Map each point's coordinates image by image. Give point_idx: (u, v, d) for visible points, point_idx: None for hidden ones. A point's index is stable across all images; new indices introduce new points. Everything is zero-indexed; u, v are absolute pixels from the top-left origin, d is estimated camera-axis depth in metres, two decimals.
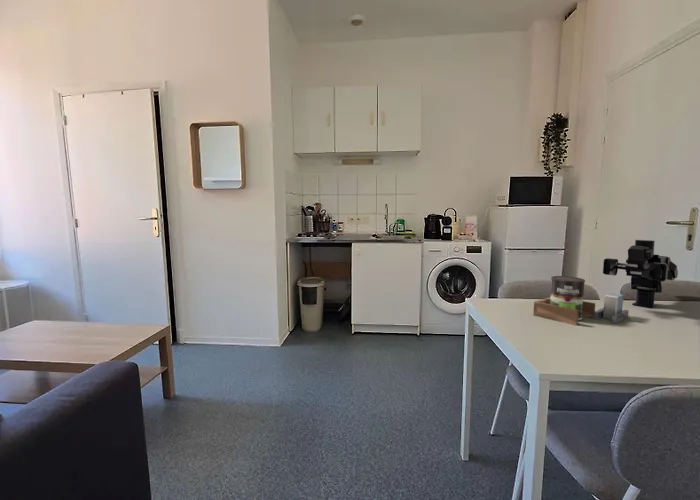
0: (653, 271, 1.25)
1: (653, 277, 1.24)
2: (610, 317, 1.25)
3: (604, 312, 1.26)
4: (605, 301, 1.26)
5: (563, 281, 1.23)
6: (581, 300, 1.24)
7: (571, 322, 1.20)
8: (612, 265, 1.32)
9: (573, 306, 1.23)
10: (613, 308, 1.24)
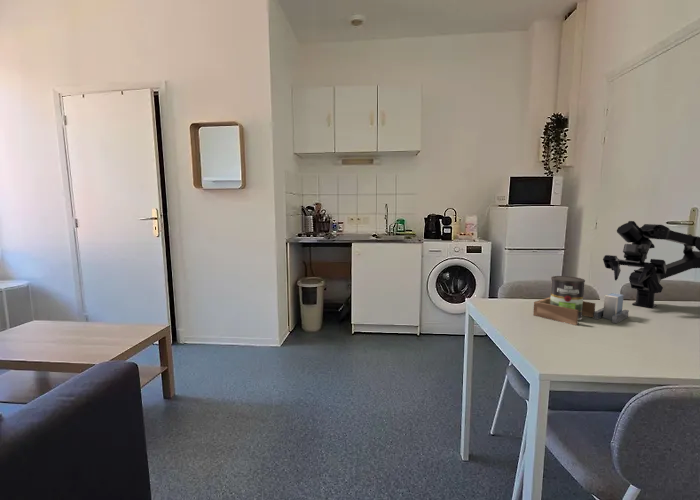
0: None
1: (650, 274, 1.32)
2: (610, 317, 1.25)
3: (604, 312, 1.26)
4: (605, 301, 1.26)
5: (563, 281, 1.23)
6: (581, 300, 1.24)
7: (571, 322, 1.20)
8: (615, 270, 1.37)
9: (573, 306, 1.23)
10: (613, 308, 1.24)
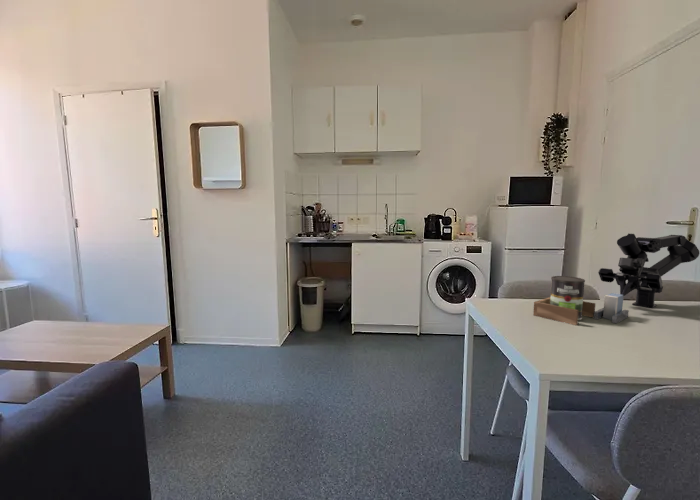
0: None
1: (634, 287, 1.33)
2: (610, 317, 1.25)
3: (604, 312, 1.26)
4: (605, 301, 1.26)
5: (563, 281, 1.23)
6: (581, 300, 1.24)
7: (571, 322, 1.20)
8: (621, 285, 1.33)
9: (573, 306, 1.23)
10: (613, 308, 1.24)
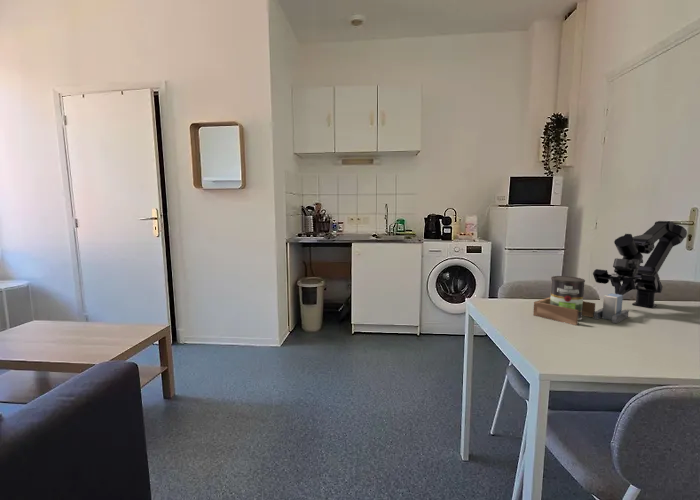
0: None
1: (629, 289, 1.30)
2: (609, 317, 1.25)
3: (603, 312, 1.26)
4: (604, 301, 1.25)
5: (563, 281, 1.23)
6: (581, 300, 1.24)
7: (571, 322, 1.20)
8: (616, 287, 1.30)
9: (573, 306, 1.23)
10: (612, 308, 1.24)
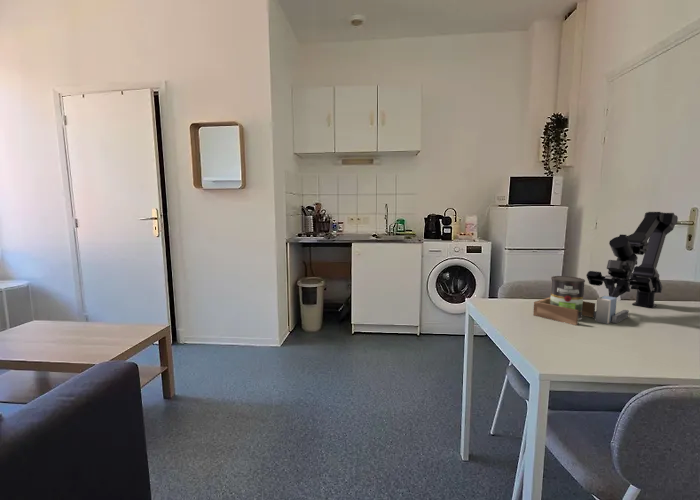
0: None
1: (623, 291, 1.26)
2: (603, 321, 1.21)
3: (596, 315, 1.22)
4: (598, 304, 1.22)
5: (563, 281, 1.23)
6: (581, 300, 1.24)
7: (571, 322, 1.20)
8: (610, 289, 1.26)
9: (573, 306, 1.23)
10: (606, 311, 1.20)
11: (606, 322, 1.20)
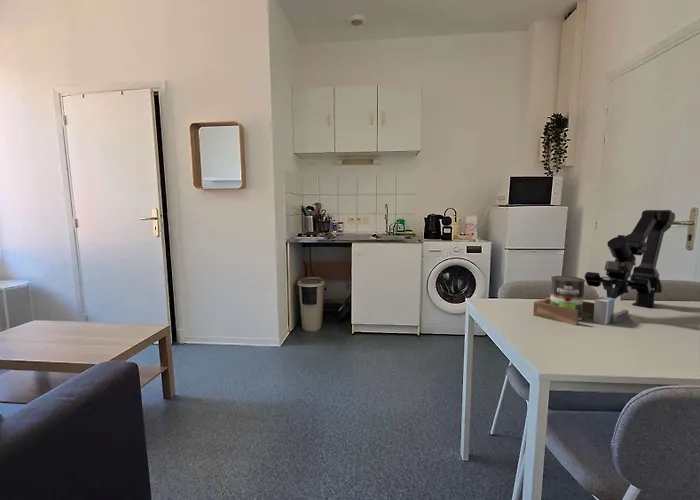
0: None
1: (621, 292, 1.25)
2: (600, 322, 1.20)
3: (594, 316, 1.21)
4: (595, 305, 1.21)
5: (563, 281, 1.23)
6: (581, 300, 1.24)
7: (571, 322, 1.20)
8: (608, 290, 1.25)
9: (573, 306, 1.23)
10: (604, 312, 1.19)
11: (604, 323, 1.19)
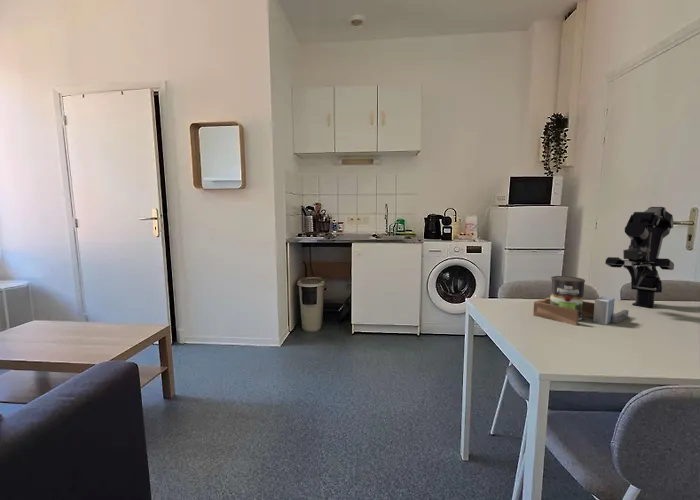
0: None
1: (646, 272, 1.28)
2: (600, 322, 1.20)
3: (594, 316, 1.21)
4: (595, 305, 1.21)
5: (563, 281, 1.23)
6: (581, 300, 1.24)
7: (571, 322, 1.20)
8: (632, 275, 1.28)
9: (573, 306, 1.23)
10: (604, 312, 1.19)
11: (604, 323, 1.19)
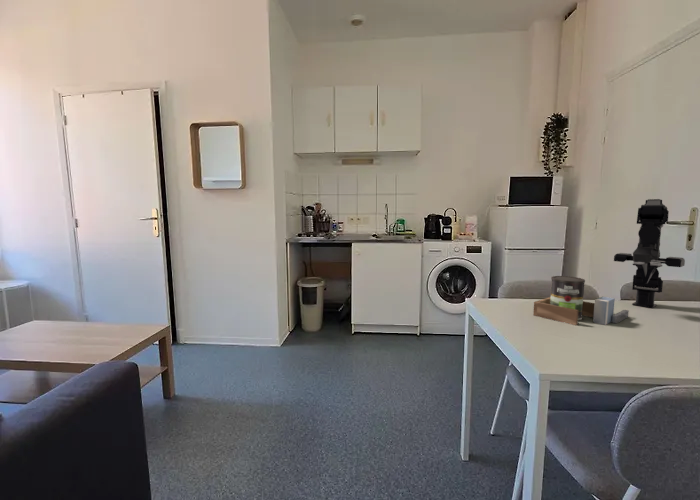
0: None
1: (655, 268, 1.26)
2: (600, 322, 1.20)
3: (594, 316, 1.21)
4: (595, 305, 1.21)
5: (563, 281, 1.23)
6: (581, 300, 1.24)
7: (571, 322, 1.20)
8: (642, 273, 1.27)
9: (573, 306, 1.23)
10: (604, 312, 1.19)
11: (604, 323, 1.19)
